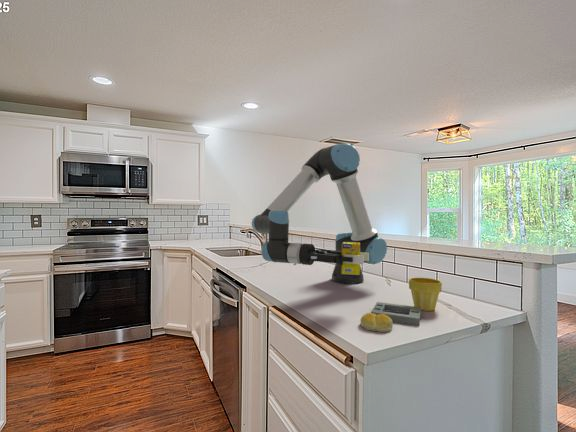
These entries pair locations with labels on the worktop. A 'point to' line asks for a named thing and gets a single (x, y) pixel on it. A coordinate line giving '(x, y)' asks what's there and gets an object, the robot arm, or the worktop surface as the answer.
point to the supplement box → (349, 268)
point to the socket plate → (402, 318)
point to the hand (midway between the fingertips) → (366, 258)
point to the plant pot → (425, 292)
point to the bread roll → (377, 322)
